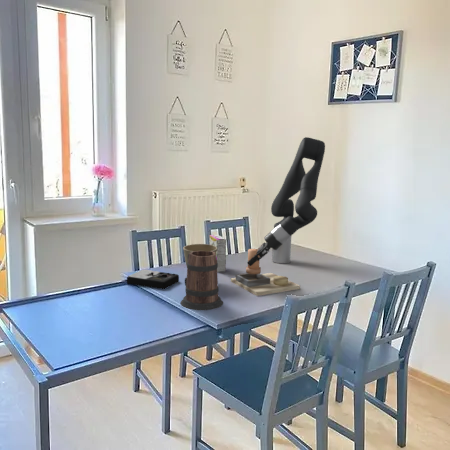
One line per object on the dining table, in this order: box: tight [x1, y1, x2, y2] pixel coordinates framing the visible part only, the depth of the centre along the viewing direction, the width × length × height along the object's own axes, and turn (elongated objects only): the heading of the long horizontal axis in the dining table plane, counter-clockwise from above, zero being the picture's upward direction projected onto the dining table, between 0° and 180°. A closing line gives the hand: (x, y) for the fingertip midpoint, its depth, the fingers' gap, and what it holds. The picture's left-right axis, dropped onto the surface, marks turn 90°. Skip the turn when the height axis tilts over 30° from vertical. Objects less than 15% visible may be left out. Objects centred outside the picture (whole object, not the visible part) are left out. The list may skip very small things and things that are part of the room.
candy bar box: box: [208, 234, 227, 273], centre depth 229 cm, size 11×5×16 cm, turn 22°
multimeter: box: [126, 269, 180, 290], centre depth 207 cm, size 13×19×5 cm
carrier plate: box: [230, 272, 301, 297], centre depth 206 cm, size 22×22×4 cm
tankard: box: [180, 251, 224, 311], centre depth 184 cm, size 24×17×20 cm
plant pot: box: [182, 243, 217, 267], centre depth 207 cm, size 15×15×16 cm
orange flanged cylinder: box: [245, 248, 262, 274], centre depth 204 cm, size 6×6×10 cm
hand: (249, 262), depth 204 cm, fingers closed on orange flanged cylinder, 5 cm apart
